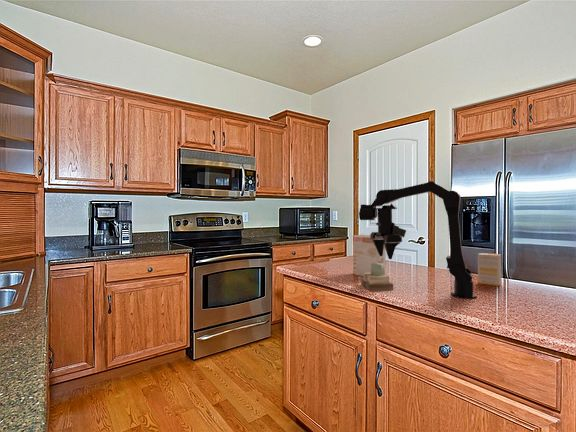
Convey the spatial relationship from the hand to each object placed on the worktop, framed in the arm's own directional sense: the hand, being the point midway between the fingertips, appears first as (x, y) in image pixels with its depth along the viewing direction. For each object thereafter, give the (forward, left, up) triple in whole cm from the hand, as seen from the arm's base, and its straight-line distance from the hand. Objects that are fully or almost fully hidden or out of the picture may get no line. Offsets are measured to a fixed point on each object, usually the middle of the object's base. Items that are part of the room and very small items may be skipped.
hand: (385, 257), depth 140 cm
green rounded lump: (0, +4, -7) cm, 8 cm away
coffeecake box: (+23, -1, -13) cm, 26 cm away
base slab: (+1, +4, -13) cm, 14 cm away
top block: (+1, +4, -10) cm, 11 cm away
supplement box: (-1, -46, -13) cm, 48 cm away
